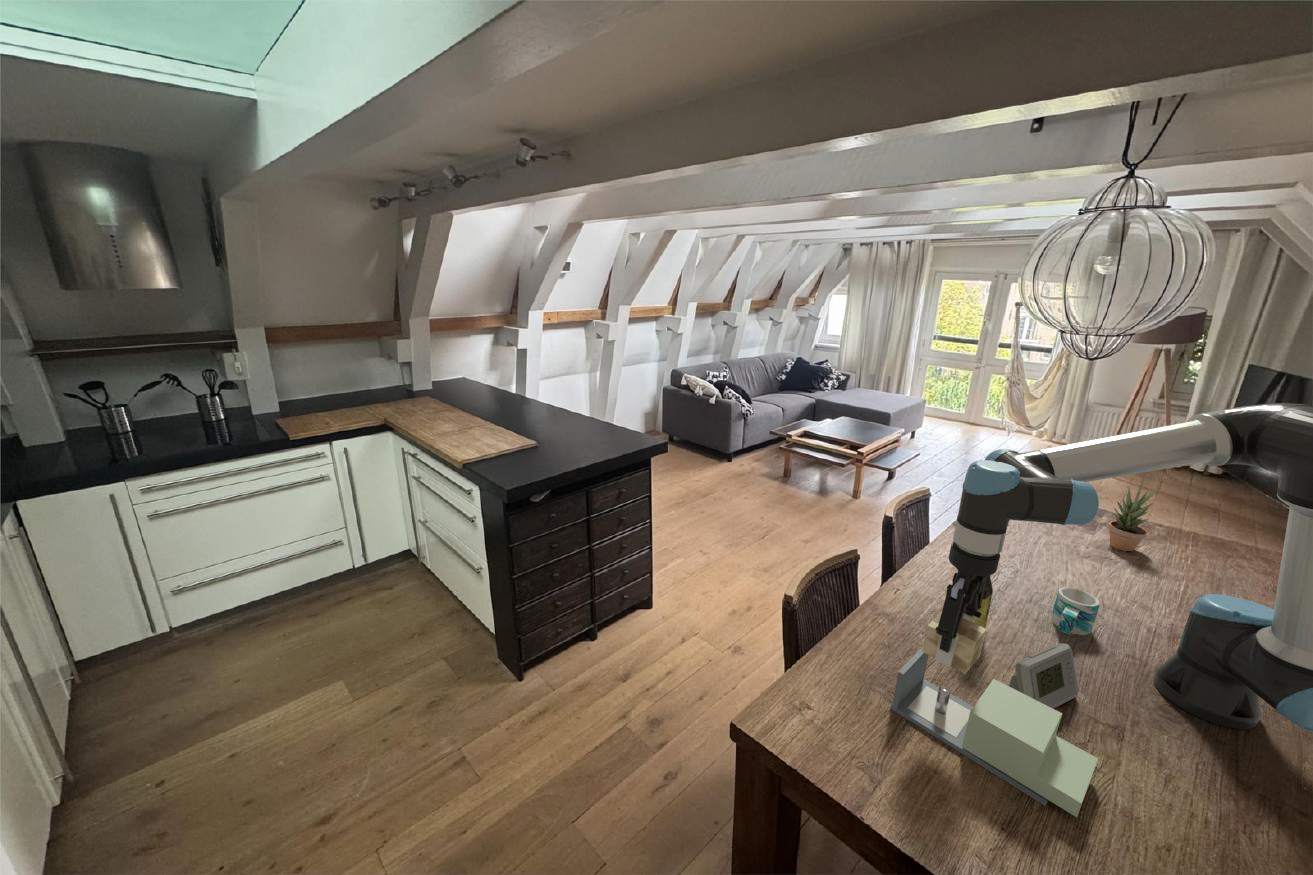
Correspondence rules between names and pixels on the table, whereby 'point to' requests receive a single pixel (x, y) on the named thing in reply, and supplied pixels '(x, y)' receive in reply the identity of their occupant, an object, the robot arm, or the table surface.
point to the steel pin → (942, 700)
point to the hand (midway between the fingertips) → (951, 652)
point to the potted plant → (1129, 522)
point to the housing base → (940, 715)
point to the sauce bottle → (985, 604)
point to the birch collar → (958, 643)
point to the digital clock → (1047, 676)
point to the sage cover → (1028, 745)
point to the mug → (1075, 611)
